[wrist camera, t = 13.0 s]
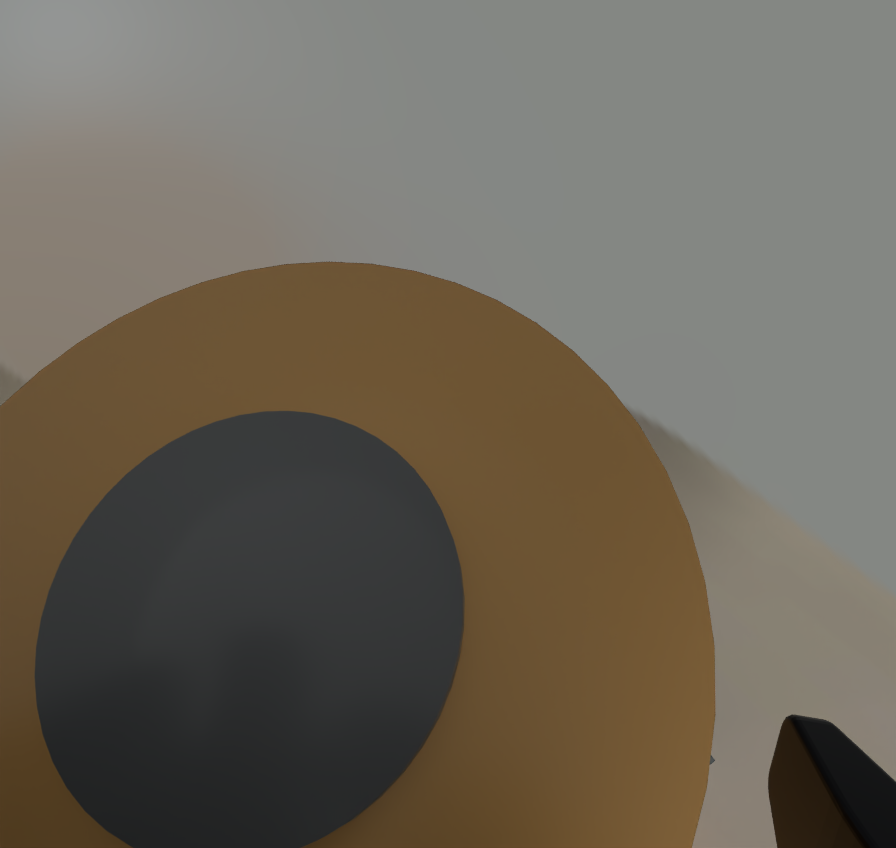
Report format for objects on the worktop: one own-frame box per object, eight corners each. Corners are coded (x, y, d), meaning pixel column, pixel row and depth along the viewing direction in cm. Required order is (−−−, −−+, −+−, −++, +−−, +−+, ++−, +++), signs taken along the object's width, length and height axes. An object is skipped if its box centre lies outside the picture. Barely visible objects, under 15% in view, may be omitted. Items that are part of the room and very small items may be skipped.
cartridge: (427, 883, 13) (-122, 1675, 2) (320, 668, 16) (-242, 495, 4) (619, 740, 14) (969, 769, 3) (492, 554, 16) (403, 144, 5)
